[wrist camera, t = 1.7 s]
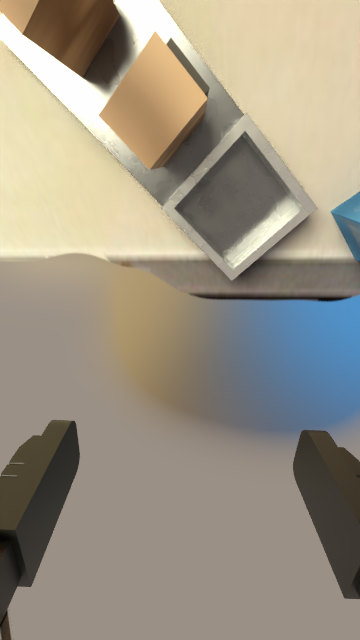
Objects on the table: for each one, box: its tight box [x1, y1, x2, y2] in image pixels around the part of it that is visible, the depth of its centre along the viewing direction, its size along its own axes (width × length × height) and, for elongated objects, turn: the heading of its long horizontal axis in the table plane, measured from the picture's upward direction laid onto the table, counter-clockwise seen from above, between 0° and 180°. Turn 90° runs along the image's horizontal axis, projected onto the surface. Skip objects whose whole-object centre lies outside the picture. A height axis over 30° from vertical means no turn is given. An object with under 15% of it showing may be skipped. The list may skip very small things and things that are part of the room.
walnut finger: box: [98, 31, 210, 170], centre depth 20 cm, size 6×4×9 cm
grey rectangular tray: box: [0, 0, 317, 280], centre depth 24 cm, size 10×27×4 cm, turn 45°
